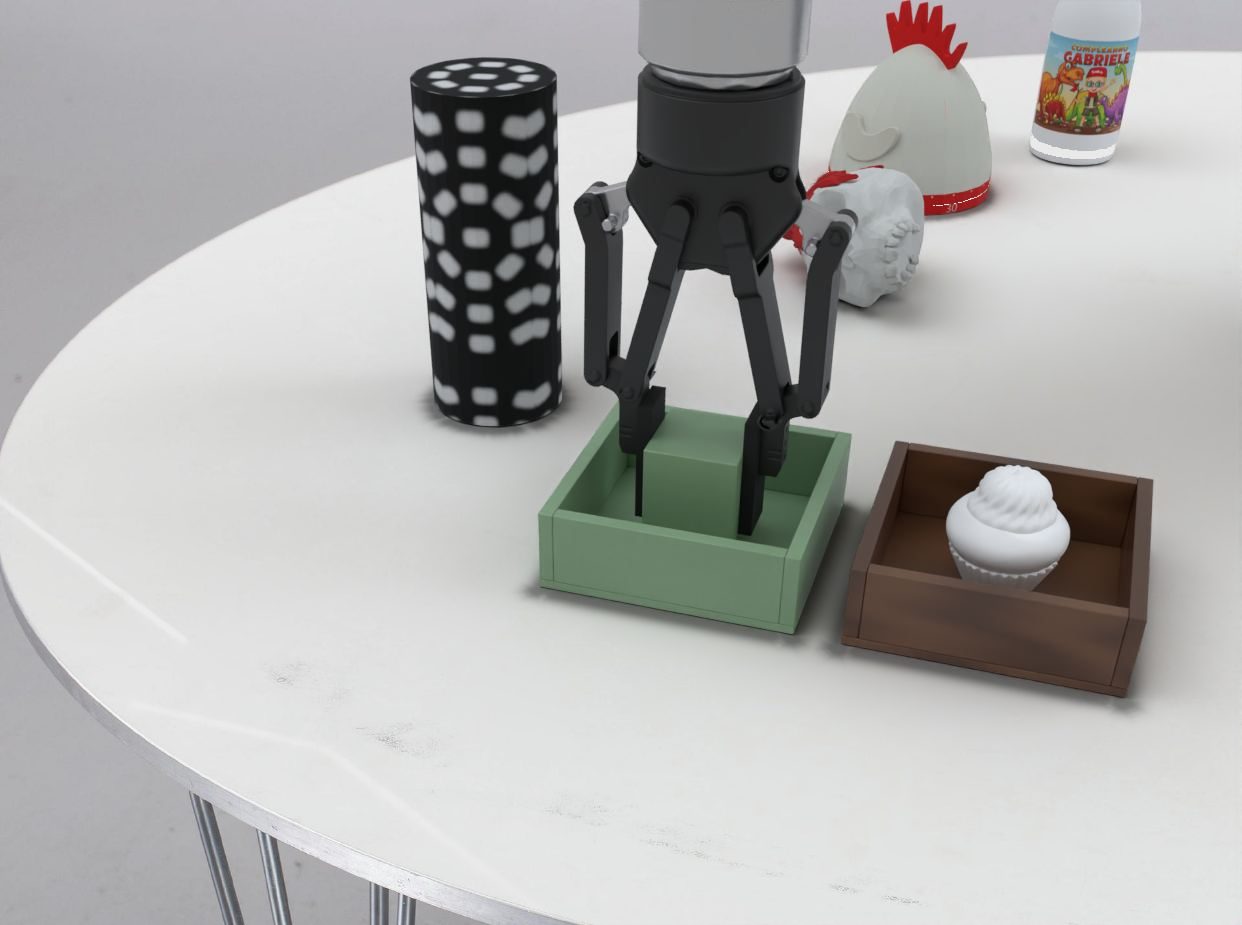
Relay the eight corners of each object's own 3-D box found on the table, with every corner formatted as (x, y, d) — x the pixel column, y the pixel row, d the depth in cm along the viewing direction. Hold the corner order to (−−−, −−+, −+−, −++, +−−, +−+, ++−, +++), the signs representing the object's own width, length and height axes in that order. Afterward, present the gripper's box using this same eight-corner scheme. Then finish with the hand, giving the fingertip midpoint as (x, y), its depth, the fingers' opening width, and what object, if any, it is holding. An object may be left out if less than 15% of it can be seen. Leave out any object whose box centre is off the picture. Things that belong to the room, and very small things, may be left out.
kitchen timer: (900, 151, 133) (922, -23, 124) (1020, 190, 125) (1053, 6, 116) (794, 183, 126) (809, 1, 117) (914, 227, 118) (940, 34, 109)
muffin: (1081, 591, 74) (1110, 472, 70) (1007, 635, 71) (1033, 514, 67) (985, 541, 78) (1007, 426, 74) (911, 582, 75) (929, 464, 71)
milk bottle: (1014, 143, 135) (1054, -92, 123) (1090, 138, 136) (1137, -95, 125) (1049, 169, 129) (1095, -75, 117) (1128, 164, 130) (1182, -78, 118)
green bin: (843, 503, 82) (852, 433, 80) (793, 635, 72) (800, 559, 69) (618, 466, 86) (619, 397, 83) (539, 586, 75) (537, 513, 73)
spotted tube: (421, 422, 90) (393, 94, 78) (449, 365, 97) (428, 55, 85) (551, 430, 89) (543, 100, 77) (571, 372, 96) (567, 59, 84)
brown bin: (1134, 550, 78) (1153, 478, 75) (1125, 698, 68) (1147, 620, 65) (885, 509, 82) (895, 439, 79) (840, 643, 71) (850, 568, 69)
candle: (890, 328, 100) (727, 294, 110) (979, 282, 107) (818, 253, 116) (892, 198, 96) (721, 174, 105) (985, 158, 102) (816, 139, 111)
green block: (754, 502, 79) (760, 421, 76) (732, 548, 75) (737, 465, 72) (667, 487, 80) (670, 407, 77) (641, 532, 77) (643, 449, 74)
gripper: (937, 61, 64) (876, 507, 78) (560, 29, 69) (565, 455, 83) (912, 107, 59) (851, 579, 73) (502, 68, 63) (518, 520, 77)
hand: (698, 512), depth 78 cm, fingers closed on green block, 5 cm apart
